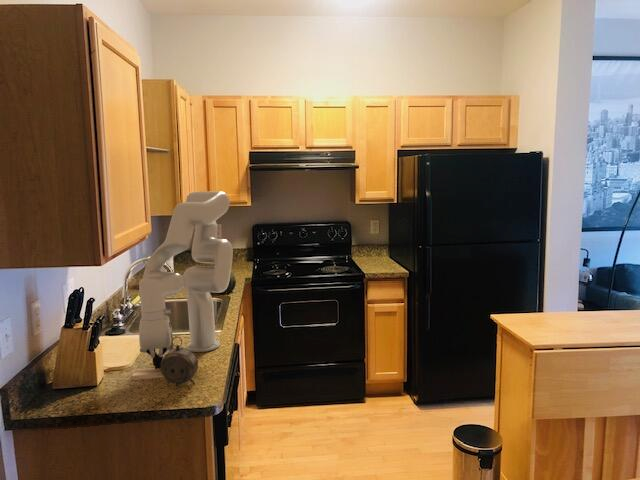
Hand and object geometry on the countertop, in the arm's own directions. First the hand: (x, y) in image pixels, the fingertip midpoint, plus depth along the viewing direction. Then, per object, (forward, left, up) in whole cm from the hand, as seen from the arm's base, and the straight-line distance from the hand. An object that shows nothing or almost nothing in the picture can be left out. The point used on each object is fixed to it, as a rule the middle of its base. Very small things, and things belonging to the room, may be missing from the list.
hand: (158, 367), depth 155 cm
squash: (-107, +18, -3) cm, 108 cm away
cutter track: (0, 0, -3) cm, 3 cm away
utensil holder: (-136, -19, -3) cm, 137 cm away
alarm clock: (+11, +8, -3) cm, 14 cm away
